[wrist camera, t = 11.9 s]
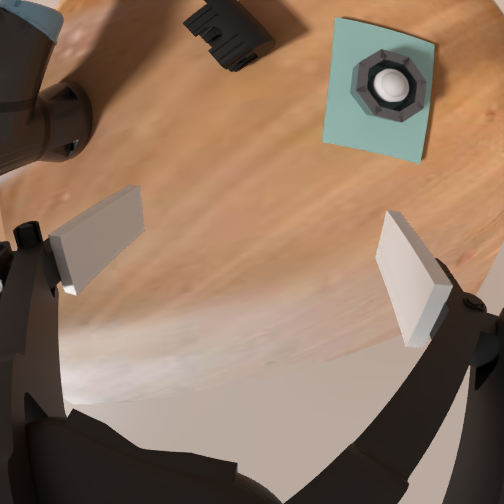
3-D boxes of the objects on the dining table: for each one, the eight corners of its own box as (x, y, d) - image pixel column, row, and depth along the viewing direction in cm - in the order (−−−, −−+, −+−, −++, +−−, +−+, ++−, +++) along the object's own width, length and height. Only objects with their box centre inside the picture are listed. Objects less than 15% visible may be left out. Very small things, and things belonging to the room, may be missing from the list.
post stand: (321, 140, 37) (324, 147, 30) (334, 20, 28) (339, 0, 21) (416, 162, 35) (438, 174, 28) (430, 46, 26) (454, 35, 19)
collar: (347, 110, 33) (353, 110, 28) (354, 51, 29) (360, 43, 24) (407, 125, 32) (420, 128, 27) (414, 68, 28) (428, 63, 23)
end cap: (279, 47, 32) (273, 35, 26) (237, 76, 34) (223, 69, 29) (235, 1, 29) (222, -16, 23) (196, 30, 32) (177, 18, 26)
